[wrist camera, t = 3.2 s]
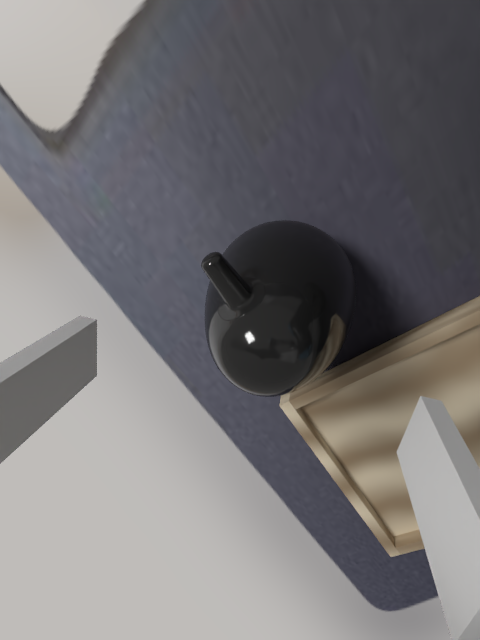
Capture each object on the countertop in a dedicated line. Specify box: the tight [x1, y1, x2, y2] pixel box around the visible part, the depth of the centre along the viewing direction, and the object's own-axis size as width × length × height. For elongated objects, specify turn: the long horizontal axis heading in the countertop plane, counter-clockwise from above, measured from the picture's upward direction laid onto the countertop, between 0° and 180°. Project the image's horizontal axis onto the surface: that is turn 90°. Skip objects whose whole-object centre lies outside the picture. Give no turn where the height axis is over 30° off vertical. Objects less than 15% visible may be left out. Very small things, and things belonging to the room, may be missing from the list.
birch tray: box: [280, 296, 480, 557], centre depth 31 cm, size 20×20×2 cm
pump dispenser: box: [201, 220, 357, 397], centre depth 23 cm, size 10×10×15 cm
